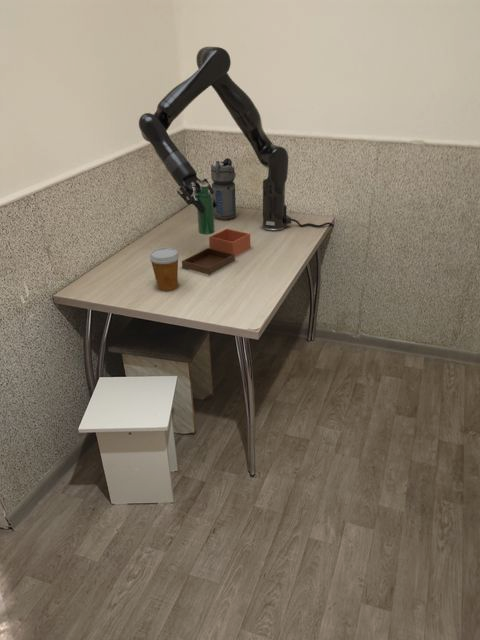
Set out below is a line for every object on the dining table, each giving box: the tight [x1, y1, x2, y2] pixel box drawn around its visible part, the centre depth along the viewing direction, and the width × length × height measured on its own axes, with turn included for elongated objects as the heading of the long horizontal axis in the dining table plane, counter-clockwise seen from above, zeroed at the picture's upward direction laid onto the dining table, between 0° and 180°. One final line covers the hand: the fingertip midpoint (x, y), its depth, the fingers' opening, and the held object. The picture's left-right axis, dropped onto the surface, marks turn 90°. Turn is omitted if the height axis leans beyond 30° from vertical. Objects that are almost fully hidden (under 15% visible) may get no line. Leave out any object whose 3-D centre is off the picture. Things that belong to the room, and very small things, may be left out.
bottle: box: [196, 183, 216, 236], centre depth 173 cm, size 6×6×16 cm
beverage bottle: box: [210, 157, 237, 221], centre depth 224 cm, size 10×13×25 cm
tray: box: [181, 247, 236, 277], centre depth 183 cm, size 15×12×3 cm
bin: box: [208, 228, 251, 257], centre depth 195 cm, size 11×11×6 cm
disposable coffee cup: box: [148, 247, 180, 292], centre depth 165 cm, size 10×10×12 cm
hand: (209, 209), depth 173 cm, fingers closed on bottle, 5 cm apart
